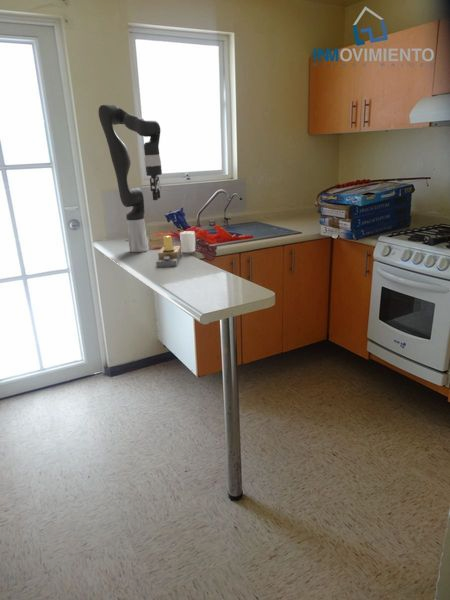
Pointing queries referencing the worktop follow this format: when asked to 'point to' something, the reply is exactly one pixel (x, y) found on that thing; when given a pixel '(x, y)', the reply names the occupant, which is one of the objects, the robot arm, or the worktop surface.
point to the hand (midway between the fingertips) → (156, 199)
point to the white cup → (187, 241)
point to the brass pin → (167, 243)
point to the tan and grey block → (169, 257)
